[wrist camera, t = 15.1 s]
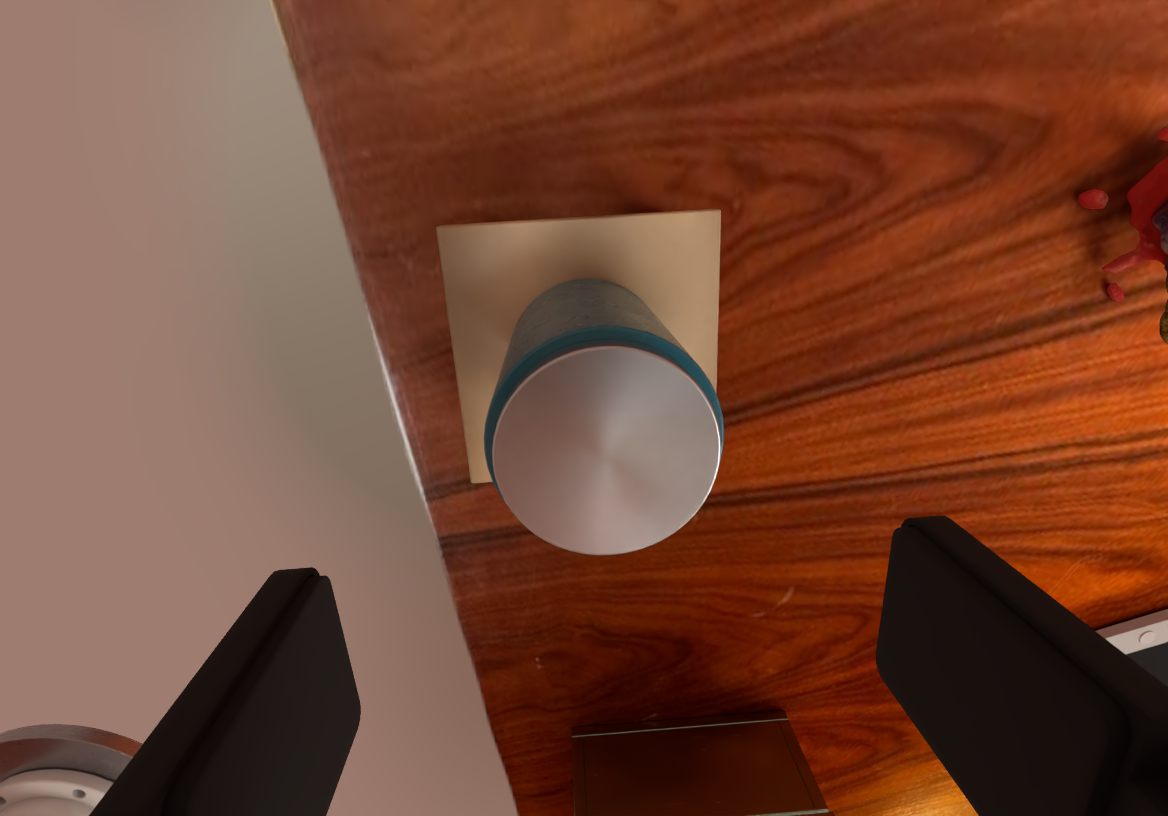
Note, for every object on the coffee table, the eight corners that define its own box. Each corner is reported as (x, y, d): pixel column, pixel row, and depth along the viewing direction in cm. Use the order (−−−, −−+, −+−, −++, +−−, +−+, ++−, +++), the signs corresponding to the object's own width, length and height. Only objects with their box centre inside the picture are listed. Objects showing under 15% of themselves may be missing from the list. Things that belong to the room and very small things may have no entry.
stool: (490, 419, 33) (470, 484, 26) (465, 219, 29) (435, 226, 22) (679, 406, 33) (714, 466, 26) (679, 207, 30) (721, 209, 22)
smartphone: (1186, 602, 40) (1201, 611, 39) (1183, 751, 45) (1196, 762, 44) (1083, 633, 40) (1095, 643, 40) (1092, 777, 46) (1103, 788, 45)
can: (517, 432, 25) (494, 574, 15) (502, 283, 23) (464, 342, 13) (664, 422, 25) (729, 557, 16) (663, 273, 23) (738, 324, 13)
